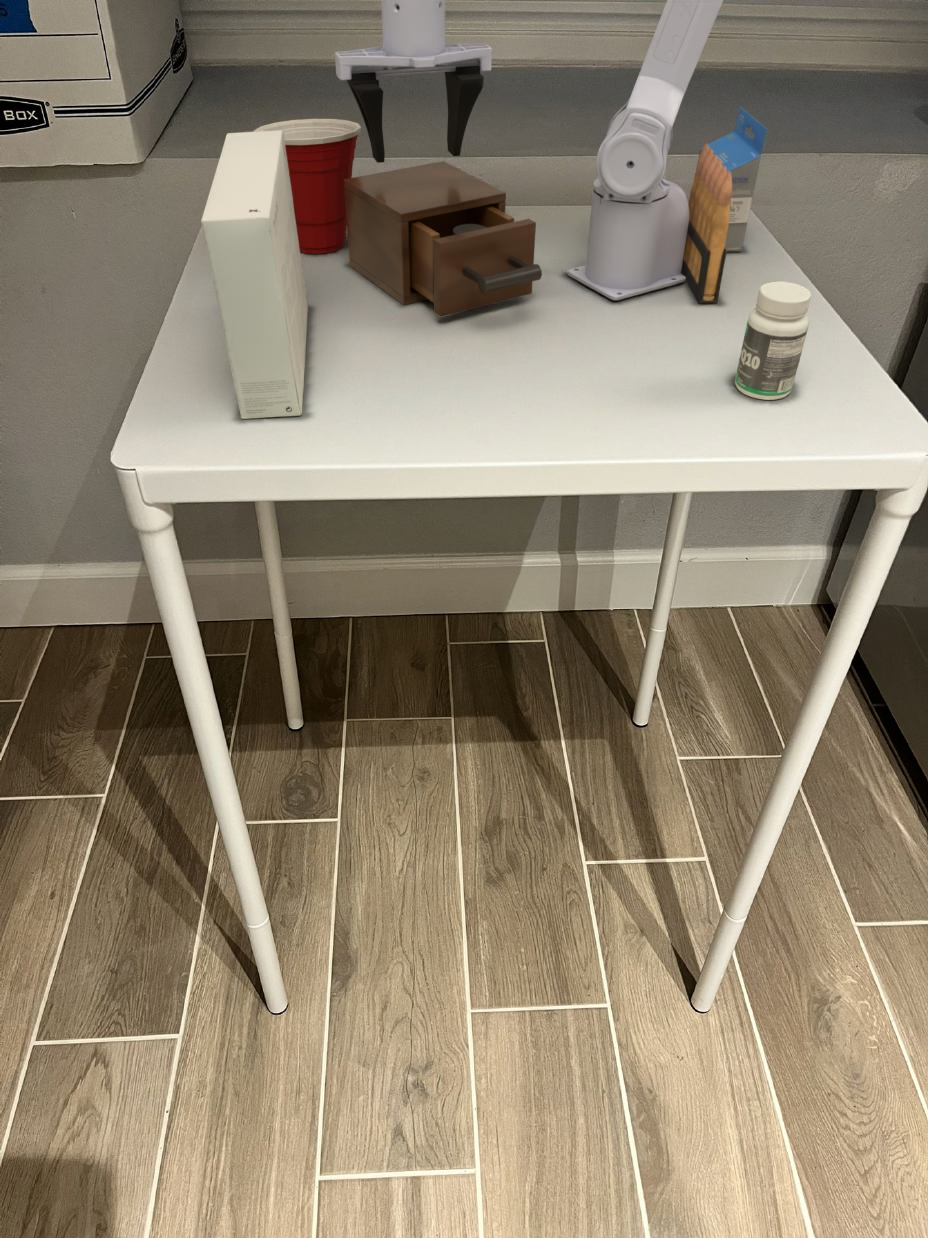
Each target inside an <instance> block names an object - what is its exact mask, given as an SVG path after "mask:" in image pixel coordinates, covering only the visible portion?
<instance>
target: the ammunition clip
mask: <svg viewBox="0 0 928 1238" xmlns="http://www.w3.org/2000/svg"><path fill="white" fill-rule="evenodd" d="M708 144H709V143H708V142H705V143H704V145H703V146H702V147H703V149H702V151H701V154H700V156H699V155H698V159H699V160H697V163H696V169H695V173H694V178H693V183H692V185H691V188H690V193H689V198H688V204H689V212H690V217H689V225H688V231H687V238H686V244H685V250H684V256H683V263H682V269H681V275H683V276H685V277H686V281H685V282H686V283H687V285H688V287H689V288H690V290H691V292H692V294H693V296H694V298H695V300H696V301H697V303H698V304H718V301H719V297H720V291H721V285H722V284H721V283H722V279H723V275H724V274H723V273H724V268H725V262H726V256H727V253H726V252H727V251H726V249H725V242H726V237H727V231H728V226H729V211H730V202H731V196H732V175H731V172H730V171H729V172H728V173H727V168H726V166H725V165H724V166H722V161H721V160H718V158H717V155H716V154H714V155H713V150H712V148H710V149H709V146H708Z"/></svg>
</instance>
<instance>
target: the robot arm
mask: <svg viewBox="0 0 928 1238" xmlns="http://www.w3.org/2000/svg"><path fill="white" fill-rule="evenodd" d="M723 2H724V0H666V2H665V5H664V7H663V10H662V12H661V15H660V18H659V21H658V24H657V26H656V29H655V31H654V34H653V37H652V39H651V41H650V44H649V47H648V49H647V52H646V55H645V57H644V60H643V62H642V65H641V68H640V70H639V73H638V76H637V79H636V81H635V84H634V86H633V89H632V92H631V95H630V96H629V98H628V100H627V101H626V103H625V104H624V105H623V106H622V107H620V109H619V110H618V111H616V113H614V115H613V117H612V118H611V120H610V121H609V124H608V127H607V130H606V131H607V132H606V135H605V138H604V139H603V140H602V142H601V144H600V146H599V147H598V151H597V152H596V153H597V155H596V159H595V169H596V175H597V178H595V179H594V180H593V187H592V196H591V197H592V198H591V206H590V207H591V208H590V217H589V219H590V220H589V229H588V241H587V250H586V261H585V265H580V266H577V267H573V268H569V269H567V271H566V274H567V276H569V277H570V278H572V279H574V280H576V281H578V282H580V283H581V284H583V285H585V286H586V287H588V288H590V289H592V290H594V291H595V292H597V293H599V294H601V295H603V296H604V297H606V298H608V299H609V300H611V301H621V300H625V299H628V298H631V297H634V296H638V295H642V294H646V293H650V292H653V291H657V290H661V289H664V288H668V287H672V286H675V285H678V284H682V283H685V282H687V281H686V277H685V276H683V274H682V272H681V269H682V263H683V256H684V250H685V244H686V238H687V231H688V225H689V217H690V212H689V199H688V198H687V195H686V193H685V191H684V190H683V189H682V187H681V186H679V185H678V183H675V182H673V181H668V180H667V178H666V176H665V172H666V169H667V168H666V167H667V158H668V154H669V152H670V149H671V146H672V143H673V135H674V132H673V126H674V123H675V121H676V119H677V116H678V113H679V111H680V107H681V104H682V102H683V99H684V97H685V94H686V92H687V89H688V86H689V84H690V82H691V79H692V77H693V74H694V73H695V70H696V68H697V65H698V63H699V60H700V58H701V55H702V53H703V50H704V48H705V46H706V43H707V41H708V38H709V36H710V34H711V32H712V29H713V26H714V24H715V22H716V19H717V17H718V15H719V12H720V9H721V7H722V5H723ZM380 5H381V6H380V7H381V27H382V28H381V31H382V46H381V45H380V46H375V47H374V46H373V47H368V48H367V47H366V48H361V49H354V50H353V49H352V50H345V51H335V52H334V60H335V61H334V62H335V75H336V77H337V78H338V79H339V81H346V82H347V85H348V87H349V89H350V91H351V94H352V95H353V97H354V99H355V102H356V104H357V106H358V109H359V111H360V114H361V116H362V119H363V121H364V122H363V123H364V125H365V128H366V131H367V135H368V138H369V143H370V147H371V154H372V158H373V159H374V160H375V162H376V163H377V164H380V163H385V158H386V157H385V154H386V153H385V151H386V150H385V142H384V141H385V140H384V132H383V105H384V104H383V103H384V90H383V89H382V88H381V86H380V80H379V79H377V77H384V76H386V77H387V76H402V75H419V74H432V73H433V74H434V73H444V79H445V88H446V89H445V90H446V102H447V130H446V141H447V151H448V153H450V154H451V155H452V156H453V157H460V156H461V152H462V146H463V141H464V137H465V132H466V128H467V125H468V122H469V119H470V117H471V114H472V112H473V109H474V106H475V104H476V102H477V100H478V98H479V96H480V94H481V91H483V88H484V84H485V83H484V82H485V77H484V75H482V74H481V72H491V71H492V66H493V65H492V64H493V62H492V61H493V48H492V47H491V45H488V44H487V43H446V0H380Z"/></svg>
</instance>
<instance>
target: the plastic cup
mask: <svg viewBox="0 0 928 1238" xmlns="http://www.w3.org/2000/svg"><path fill="white" fill-rule="evenodd" d="M361 129H362V127H361V125H360V124H359V123H358V122H354V121H352V120H348V119H347V120H346V119H338V118H304V119H303V118H302V119H291V120H283V121H277V122H272V123H268V124H265V125H261V126H259V127H258V128H256V129H254V130H253V132H259V131H277V130H282V131H283V133H284V141H285V148H286V154H287V161H288V169H289V176H290V183H291V190H292V197H293V206H294V213H295V220H296V227H297V235H298V242H299V249H300V253H303V254H313V255H321V254H322V255H323V254H329V253H334V252H336V251H338V250H341V249H342V248H343V247H344V246H345V243H346V239H347V220H346V206H345V192H344V179H348V178H353V167H354V166H353V165H354V160H355V151H356V148H357V147H356V146H357V141H358V137H359V134H360V133H361Z"/></svg>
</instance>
